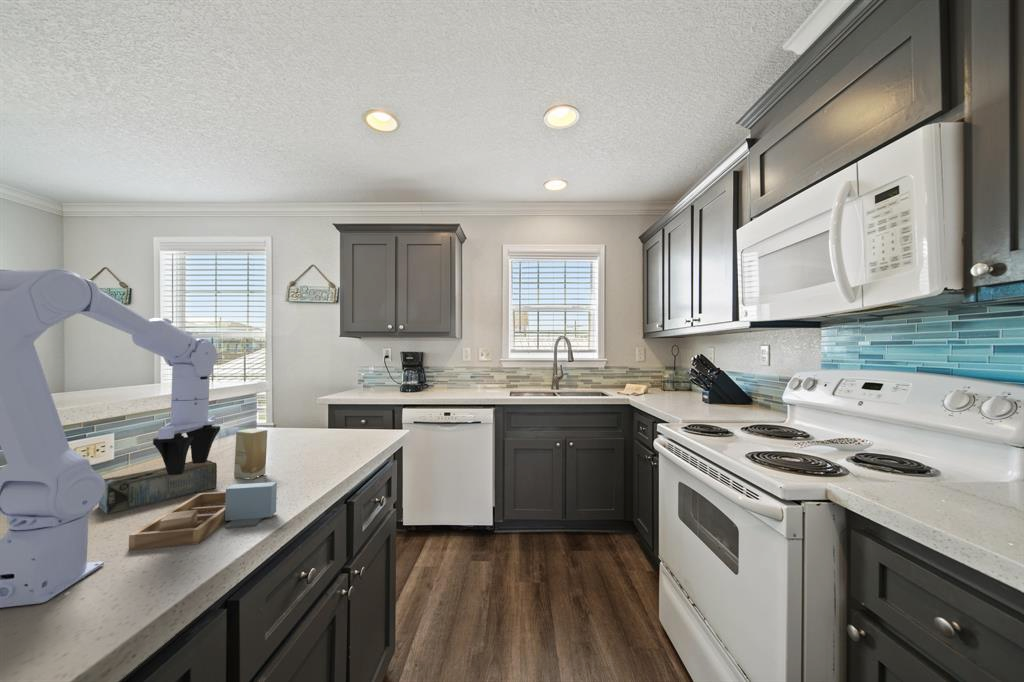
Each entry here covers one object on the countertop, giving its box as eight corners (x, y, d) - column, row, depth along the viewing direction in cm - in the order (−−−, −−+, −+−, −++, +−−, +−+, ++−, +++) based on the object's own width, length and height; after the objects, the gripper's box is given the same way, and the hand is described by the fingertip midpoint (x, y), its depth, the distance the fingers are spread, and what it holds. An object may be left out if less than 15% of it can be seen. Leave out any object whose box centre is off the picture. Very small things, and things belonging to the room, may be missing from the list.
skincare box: (233, 477, 99) (234, 431, 100) (248, 472, 103) (250, 428, 104) (251, 480, 97) (252, 432, 98) (266, 475, 102) (268, 429, 102)
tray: (198, 543, 65) (198, 529, 65) (128, 550, 62) (129, 535, 63) (250, 500, 84) (251, 489, 84) (198, 504, 81) (199, 493, 82)
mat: (255, 525, 71) (255, 523, 71) (225, 528, 70) (225, 526, 70) (272, 509, 79) (272, 507, 79) (245, 511, 78) (245, 509, 78)
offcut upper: (190, 528, 66) (190, 516, 66) (159, 532, 65) (160, 521, 65) (197, 520, 70) (197, 509, 70) (168, 524, 68) (168, 513, 68)
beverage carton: (96, 507, 81) (97, 476, 81) (206, 482, 96) (207, 456, 97) (104, 516, 76) (106, 482, 76) (219, 488, 92) (219, 461, 92)
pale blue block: (271, 516, 74) (271, 486, 75) (224, 520, 73) (225, 489, 73) (276, 511, 77) (276, 481, 77) (231, 515, 75) (232, 484, 75)
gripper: (191, 403, 69) (188, 478, 68) (232, 394, 83) (230, 457, 82) (145, 404, 67) (142, 481, 67) (194, 395, 81) (192, 459, 81)
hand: (188, 468), depth 74 cm, fingers open, 7 cm apart
